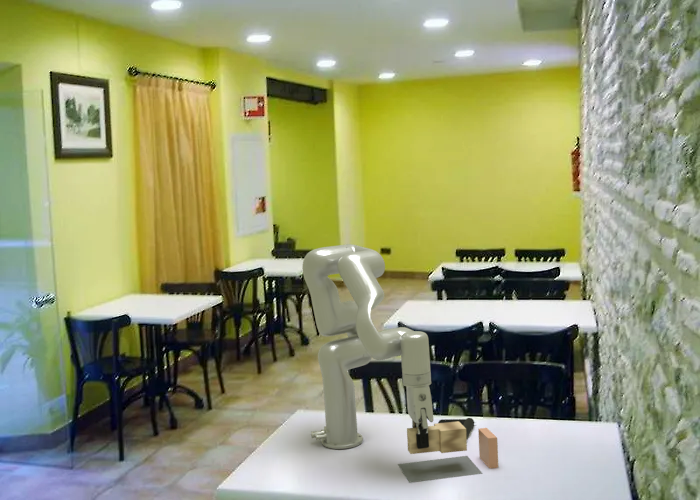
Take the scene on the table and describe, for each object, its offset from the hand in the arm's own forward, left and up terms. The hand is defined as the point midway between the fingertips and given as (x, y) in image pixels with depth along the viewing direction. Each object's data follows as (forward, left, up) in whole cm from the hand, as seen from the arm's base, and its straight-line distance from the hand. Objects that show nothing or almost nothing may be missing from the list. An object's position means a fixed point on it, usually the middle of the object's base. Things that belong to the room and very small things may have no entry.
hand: (421, 444), depth 199 cm
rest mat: (+5, 0, -8) cm, 9 cm away
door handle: (+15, +26, -9) cm, 31 cm away
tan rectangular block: (+19, 0, -8) cm, 20 cm away
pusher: (+5, 0, -2) cm, 5 cm away
